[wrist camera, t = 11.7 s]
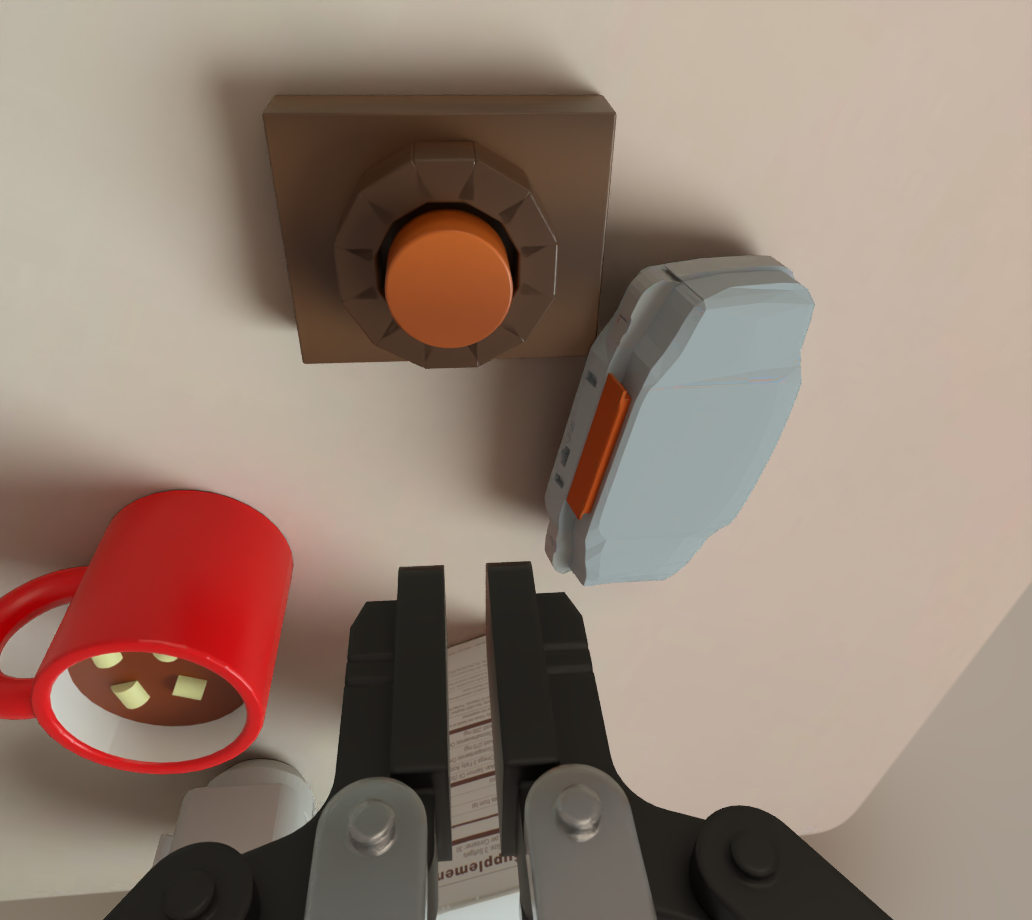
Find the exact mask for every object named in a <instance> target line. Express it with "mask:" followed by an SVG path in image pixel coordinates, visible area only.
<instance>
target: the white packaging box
mask: <svg viewBox="0 0 1032 920" xmlns="http://www.w3.org/2000/svg"><path fill="white" fill-rule="evenodd" d="M447 654H448V694H449V736H450V778H451V820H452V861H442V862H438V897H439V903H438V913H437V917H436V920H520V919H519V895H520V890H519V878H518V867H517V856H506V857H501V847H500V833H499V819H498V805H497V792H496V778H495V764H494V751H493V737H492V723H491V710H490V696H489V682H488V668H487V652H486V635H485V636H482V637H479V638H476V639H473V640H470V641H467V642H464V643H462V644H459V645H455V646H453V647H450V648H447Z"/></svg>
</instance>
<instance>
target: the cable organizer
mask: <svg viewBox="0 0 1032 920" xmlns="http://www.w3.org/2000/svg"><path fill="white" fill-rule="evenodd" d="M315 815H316V809H315V803H314V798H313V793H312V790H311V789H310V787H309V785H308V784H307V782H306V781H305V779H304V778H303V777H302V775H301V774H300V773H299V772H297V771H296V770H295V769H294V768H293V767H291V766H290V765H287V764H285V763H283V762H280V761H275V760H269V759H254V760H248V761H244V762H241V763H238V764H236V765H234V766H233V767H231V768H229V769H227V770H226V771H224V772H223V773H221V774H220V775H218V776H217V777H215V778H214V779H213V780H212V781H210V782H209V784H208V785H207V786H206V787H199V788H194V789H192V790H190V791H189V792H188V793H187V794H186V795H185V796H184V798H183V802H182V806H181V810H180V813H179V817H178V821H177V825H176V829H175V832H174V836H172V835H168V834H162V835H161V838H160V841H159V845H158V848H157V852H156V856H155V859H154V863H153V866H152V868H153V867H154V866H155V865H156V864H157V863H158V862H159V861H160V860H162V859H163V858H164V857H166V856H167V855H169V854H170V853H172V852H174V851H176V850H178V849H179V848H182V847H185V846H187V845H190V844H194V843H199V842H220V843H223V844H226V845H229V846H231V847H233V848H234V849H236V850H237V851H238V852H239V853H241V854H243V853H245V852H248V851H250V850H253V849H255V848H258V847H260V846H263V845H265V844H268V843H270V842H273V841H275V840H278V839H280V838H283V837H285V836H287V835H289V834H291V833H293V832H295V831H296V830H298V829H299V828H301V827H302V826H304V825H305V824H306V823H307V822H308V821H310V820H311V819H312V818H313V817H314V816H315Z"/></svg>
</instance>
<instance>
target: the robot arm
mask: <svg viewBox="0 0 1032 920" xmlns="http://www.w3.org/2000/svg"><path fill="white" fill-rule="evenodd" d="M486 652H487V668H488V682H489V696H490V710H491V723H492V737H493V751H494V764H495V778H496V792H497V805H498V819H499V833H500V847H501V857H506V856H517V867H518V878H519V890H520V895H519V919H520V920H893V919H892V918H891V917H889V916H888V915H887V914H886V913H885V912H884V911H882V909H880V908H879V907H878V906H877V905H876V904H875V903H874V902H872V901H871V900H870V899H869V898H868V897H867V896H866V895H865V894H863V893H862V892H861V891H860V890H859V889H858V888H857V887H856V886H854V885H853V884H852V883H851V882H850V881H849V880H848V879H846V878H845V877H844V876H843V875H842V874H841V873H840V872H839V871H837V870H836V869H835V868H834V867H833V866H832V865H831V864H829V863H828V862H827V861H826V860H825V859H824V858H823V857H822V856H821V855H819V854H818V853H817V852H816V851H815V850H814V849H813V848H811V847H810V846H809V845H808V844H807V843H806V842H805V841H804V840H802V839H801V838H800V837H799V836H798V835H797V834H796V833H795V832H793V831H792V830H791V829H790V828H789V827H788V826H787V825H785V824H784V823H783V822H782V821H780V820H779V819H778V818H776V817H775V816H773V815H771V814H769V813H768V812H765V811H763V810H760V809H758V808H754V807H750V806H740V805H739V806H729V807H725V808H722V809H720V810H718V811H716V812H714V813H713V814H711V815H710V816H709V817H708V818H707V819H706V820H704V819H700V818H696V817H692V816H689V815H685V814H681V813H677V812H673V811H669V810H666V809H663V808H659V807H656V806H654V805H652V804H650V803H648V802H646V801H644V800H643V799H641V798H640V797H638V796H637V795H636V794H635V793H633V792H632V791H631V790H630V789H629V788H628V787H627V786H626V785H625V783H624V782H623V781H622V780H621V778H620V777H619V775H618V774H617V772H616V769H615V767H614V765H613V762H612V759H611V755H610V750H609V745H608V740H607V735H606V730H605V726H604V721H603V716H602V711H601V706H600V701H599V696H598V691H597V686H596V681H595V676H594V673H593V667H592V662H591V657H590V652H589V650H588V642H587V637H586V632H585V627H584V622H583V618H582V615H581V614H580V612H579V611H578V610H577V608H576V607H575V606H574V604H573V603H572V602H571V600H570V599H569V598H568V596H567V595H566V594H565V592H558V593H537V594H536V591H535V584H534V578H533V571H532V565H531V562H530V561H523V562H501V563H486ZM347 659H348V662H347V666H346V675H345V687H344V695H343V705H342V715H341V724H340V734H339V744H338V754H337V763H336V773H335V779H334V784H333V787H332V790H331V792H330V794H329V796H328V798H327V800H326V802H325V803H324V805H323V806H322V808H321V809H320V810H319V812H318V813H317V814H316V815H315V816H314V817H313V818H312V819H311V820H310V821H308V822H307V823H306V824H305V825H304V826H302V827H301V828H299V829H298V830H296V831H295V832H293V833H291V834H289V835H287V836H285V837H283V838H280V839H278V840H275V841H273V842H270V843H268V844H265V845H263V846H260V847H258V848H255V849H253V850H250V851H248V852H245V853H243V854H241V853H239V852H238V851H237V850H236V849H234V848H233V847H231V846H229V845H226V844H223V843H220V842H199V843H194V844H190V845H187V846H185V847H182V848H179V849H178V850H176V851H174V852H172V853H170V854H169V855H167V856H166V857H164V858H163V859H162V860H160V861H159V862H158V863H157V864H156V865H155V866H154V867H153V868H152V869H151V870H150V871H149V872H148V873H147V874H146V875H145V876H144V877H143V878H142V879H141V880H140V881H139V882H138V883H137V884H136V886H135V887H134V888H133V889H132V890H131V891H130V892H129V893H128V894H127V895H126V896H125V897H124V898H123V899H122V900H121V902H120V903H119V904H118V905H117V906H116V907H115V908H114V909H113V910H112V911H111V912H110V913H109V914H108V915H107V916H106V917H105V918H104V919H103V920H436V917H437V913H438V903H439V897H438V862H442V861H452V820H451V778H450V736H449V694H448V654H447V625H446V602H445V578H444V565H435V566H413V567H399V572H398V594H397V600H393V601H372V602H366V603H365V605H364V607H363V608H362V610H361V611H360V613H359V615H358V616H357V618H356V620H355V621H354V623H353V624H352V626H351V628H350V636H349V646H348V656H347Z"/></svg>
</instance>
